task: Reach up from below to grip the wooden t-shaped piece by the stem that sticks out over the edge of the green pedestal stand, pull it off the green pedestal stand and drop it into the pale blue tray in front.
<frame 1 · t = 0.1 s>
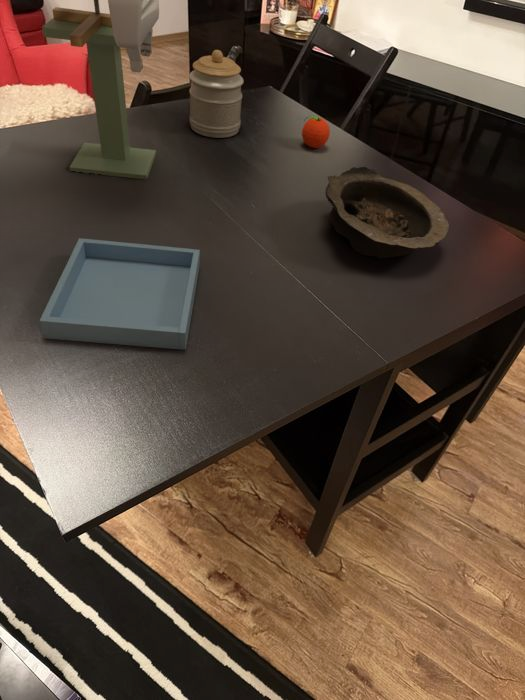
hand: (141, 62, 84), 23 cm above the table, tool pointing down, fingers open, 7 cm apart
stone bowl: (376, 237, 96), on the table
tray: (130, 298, 76), on the table
green pedestal stand: (115, 162, 105), on the table
jar: (214, 128, 123), on the table
wooden t-shaped piece: (98, 23, 86), point 26 cm above the table, touching green pedestal stand
clementine: (311, 146, 122), on the table
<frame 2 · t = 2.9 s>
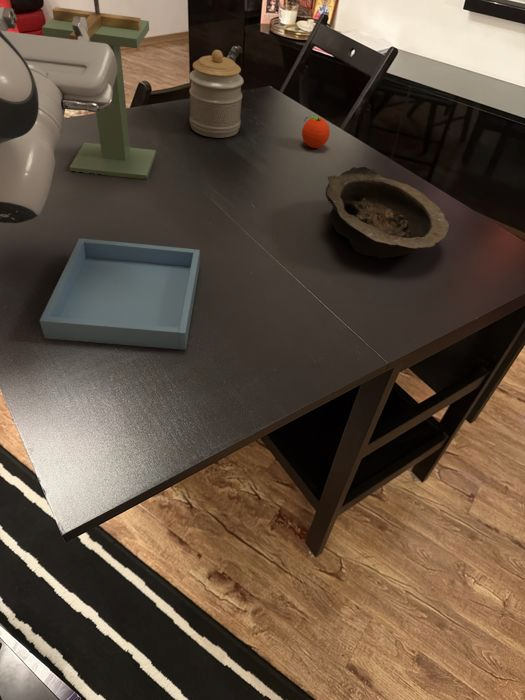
hand: (45, 16, 64), 32 cm above the table, tool pointing upward, fingers open, 8 cm apart
nothing on the table moved.
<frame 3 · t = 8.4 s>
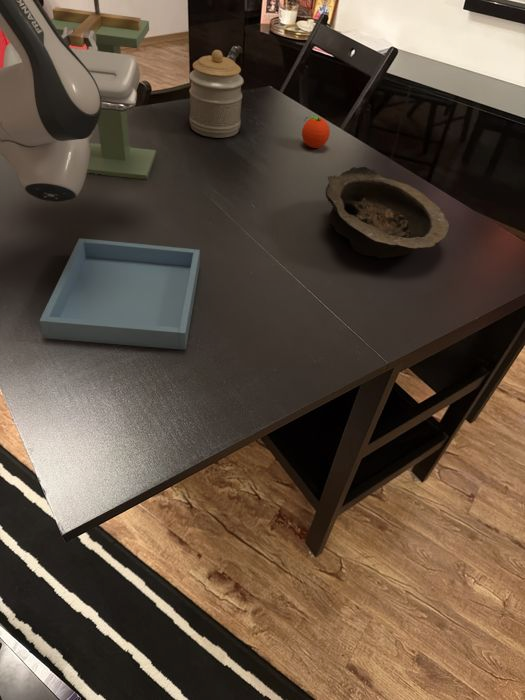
hand: (80, 32, 78), 27 cm above the table, tool pointing upward, fingers closed on wooden t-shaped piece, 2 cm apart
wooden t-shaped piece: (98, 23, 86), point 26 cm above the table, touching gripper, green pedestal stand
everything else where it was.
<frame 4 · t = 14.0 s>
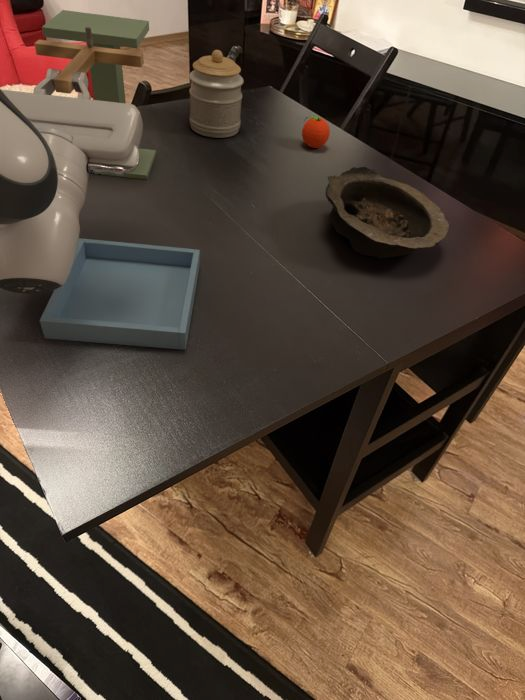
hand: (68, 74, 62), 28 cm above the table, tool pointing upward, fingers closed on wooden t-shaped piece, 2 cm apart
wooden t-shaped piece: (91, 59, 70), point 27 cm above the table, touching gripper
everything else where it was.
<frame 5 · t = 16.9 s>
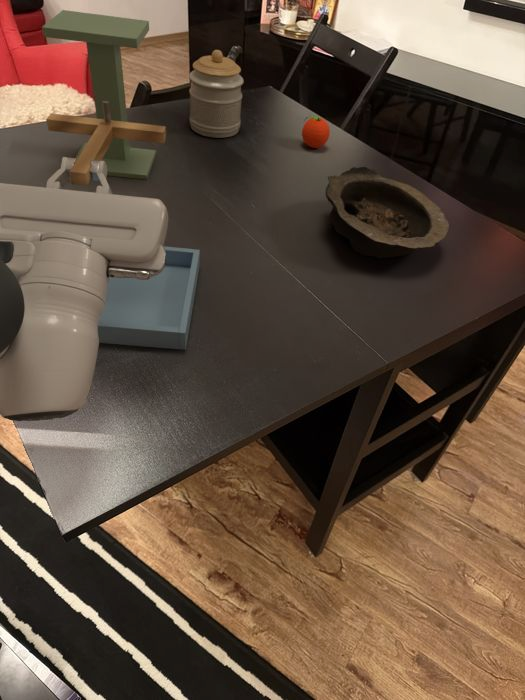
hand: (85, 161, 55), 24 cm above the table, tool pointing upward, fingers closed on wooden t-shaped piece, 2 cm apart
wooden t-shaped piece: (108, 134, 64), point 23 cm above the table, touching gripper
everything else where it was.
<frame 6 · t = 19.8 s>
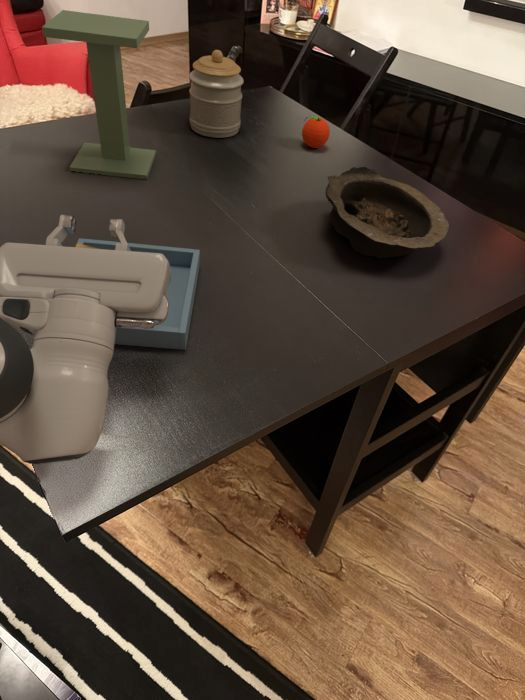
hand: (93, 219, 60), 17 cm above the table, tool pointing upward, fingers open, 5 cm apart
wooden t-shaped piece: (122, 266, 78), point 2 cm above the table, tilted 13°, touching tray
everything else where it was.
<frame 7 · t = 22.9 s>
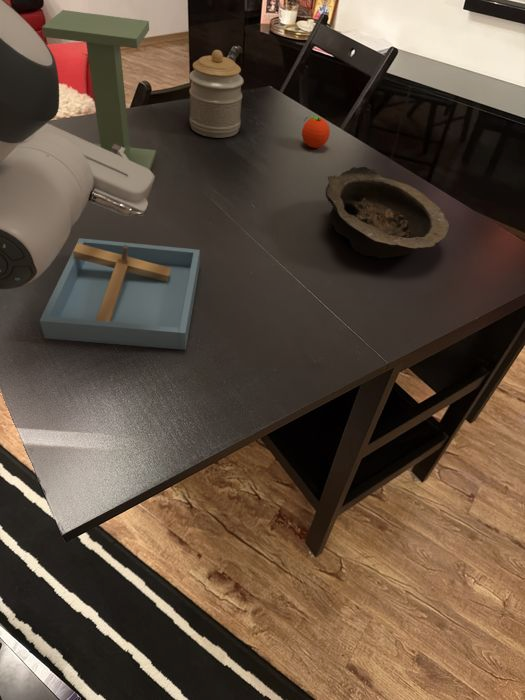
hand: (81, 134, 60), 24 cm above the table, tool horizontal, fingers open, 8 cm apart
nothing on the table moved.
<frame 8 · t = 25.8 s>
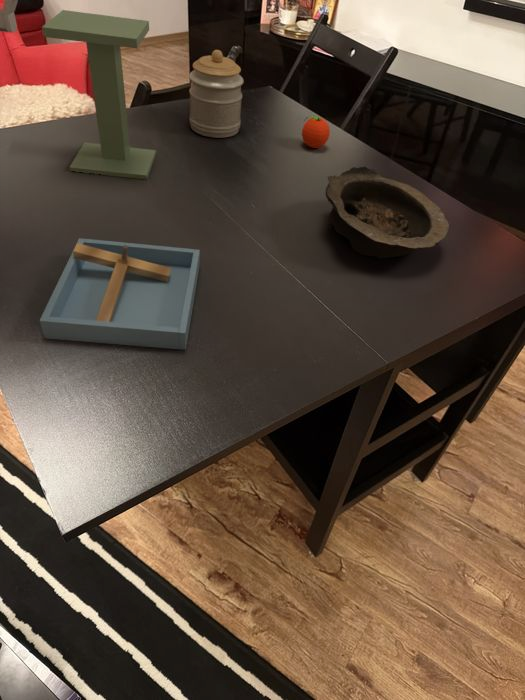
nothing on the table moved.
at the end: wooden t-shaped piece inside the target area in the tray (5.7 cm from its centre), point 2.1 cm above the tray's base; wooden t-shaped piece touching tray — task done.
